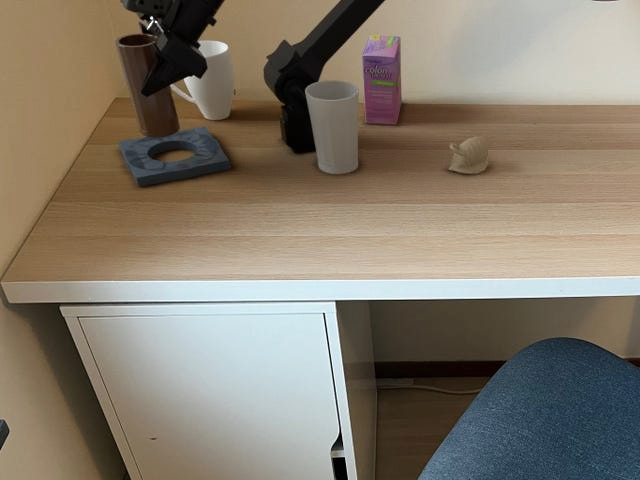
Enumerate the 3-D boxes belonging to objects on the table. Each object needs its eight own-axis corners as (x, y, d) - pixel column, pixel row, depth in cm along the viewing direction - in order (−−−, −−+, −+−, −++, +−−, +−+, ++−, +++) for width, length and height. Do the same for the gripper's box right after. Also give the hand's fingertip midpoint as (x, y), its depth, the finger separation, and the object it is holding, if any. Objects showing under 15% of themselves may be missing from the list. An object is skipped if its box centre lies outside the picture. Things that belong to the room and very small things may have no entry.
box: (397, 125, 137) (395, 56, 129) (365, 124, 137) (360, 54, 129) (402, 102, 145) (400, 35, 137) (372, 101, 144) (368, 34, 136)
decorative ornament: (495, 167, 126) (497, 135, 123) (455, 181, 122) (455, 149, 118) (479, 158, 128) (481, 127, 125) (439, 171, 124) (439, 139, 121)
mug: (243, 106, 141) (232, 40, 133) (238, 124, 135) (225, 57, 127) (175, 106, 140) (160, 40, 132) (166, 125, 133) (149, 57, 126)
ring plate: (207, 134, 131) (206, 125, 130) (232, 169, 122) (230, 160, 121) (118, 150, 126) (116, 141, 125) (137, 188, 117) (134, 178, 116)
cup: (371, 159, 127) (367, 85, 119) (349, 180, 121) (343, 104, 113) (328, 150, 128) (321, 76, 120) (303, 170, 123) (295, 94, 115)
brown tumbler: (188, 126, 119) (167, 37, 110) (161, 140, 115) (137, 49, 106) (159, 118, 121) (136, 30, 112) (131, 132, 117) (106, 42, 108)
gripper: (134, -61, 110) (76, 31, 113) (161, -28, 98) (95, 75, 101) (202, -7, 118) (146, 78, 121) (235, 30, 106) (172, 123, 109)
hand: (139, 87), depth 113 cm, fingers closed on brown tumbler, 6 cm apart
